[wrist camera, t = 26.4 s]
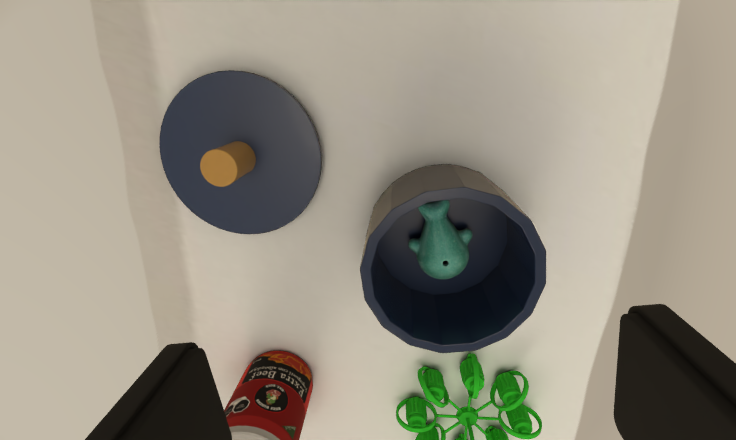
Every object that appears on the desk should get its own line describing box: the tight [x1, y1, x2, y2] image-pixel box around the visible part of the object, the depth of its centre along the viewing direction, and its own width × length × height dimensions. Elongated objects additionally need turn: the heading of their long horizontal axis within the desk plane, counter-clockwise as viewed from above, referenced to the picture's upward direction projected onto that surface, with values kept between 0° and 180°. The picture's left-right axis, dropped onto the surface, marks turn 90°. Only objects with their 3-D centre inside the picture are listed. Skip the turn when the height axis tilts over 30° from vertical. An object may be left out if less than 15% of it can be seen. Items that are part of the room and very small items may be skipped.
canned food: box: [224, 351, 313, 440], centre depth 40 cm, size 8×8×11 cm
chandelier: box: [396, 353, 542, 440], centre depth 41 cm, size 15×15×7 cm
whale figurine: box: [408, 200, 473, 279], centre depth 36 cm, size 6×7×4 cm
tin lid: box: [160, 71, 322, 234], centre depth 34 cm, size 15×15×6 cm
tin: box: [360, 164, 546, 353], centre depth 34 cm, size 14×14×8 cm
